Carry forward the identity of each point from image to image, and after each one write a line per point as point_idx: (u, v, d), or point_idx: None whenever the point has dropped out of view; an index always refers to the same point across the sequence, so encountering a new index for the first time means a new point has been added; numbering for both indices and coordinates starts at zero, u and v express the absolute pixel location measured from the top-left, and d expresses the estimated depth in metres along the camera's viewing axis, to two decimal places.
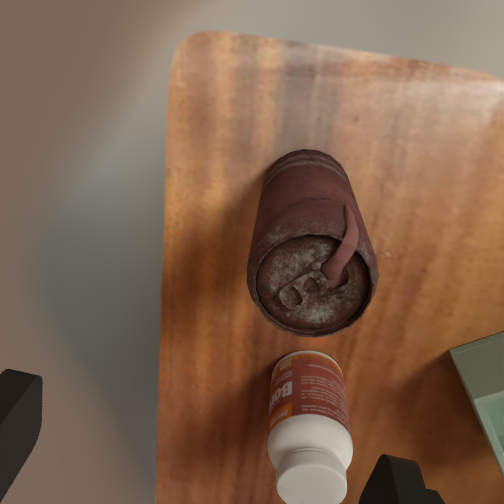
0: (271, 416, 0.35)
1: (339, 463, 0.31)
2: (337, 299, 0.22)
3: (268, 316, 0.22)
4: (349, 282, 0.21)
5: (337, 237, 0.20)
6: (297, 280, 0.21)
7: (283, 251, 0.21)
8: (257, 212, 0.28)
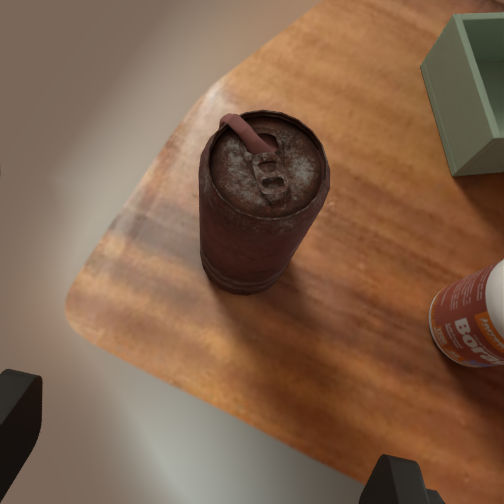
0: (494, 348, 0.27)
1: None
2: (290, 149, 0.22)
3: (290, 215, 0.20)
4: (274, 134, 0.22)
5: (222, 127, 0.21)
6: (256, 174, 0.21)
7: (222, 178, 0.21)
8: (223, 265, 0.27)
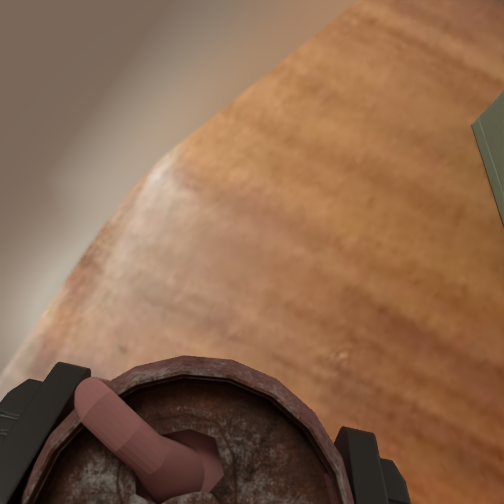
0: None
1: None
2: (254, 479, 0.08)
3: None
4: (213, 434, 0.08)
5: (70, 431, 0.08)
6: None
7: None
8: None
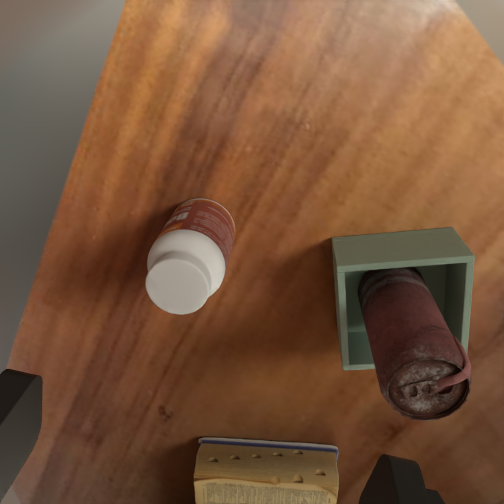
0: (160, 233, 0.38)
1: (208, 273, 0.34)
2: (437, 400, 0.32)
3: (389, 398, 0.32)
4: (450, 393, 0.32)
5: (460, 367, 0.31)
6: (420, 383, 0.32)
7: (420, 363, 0.31)
8: (374, 308, 0.38)
